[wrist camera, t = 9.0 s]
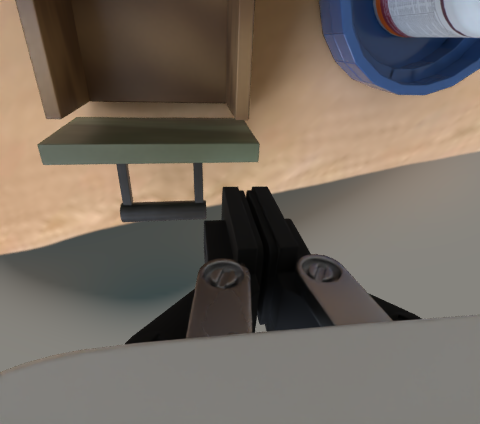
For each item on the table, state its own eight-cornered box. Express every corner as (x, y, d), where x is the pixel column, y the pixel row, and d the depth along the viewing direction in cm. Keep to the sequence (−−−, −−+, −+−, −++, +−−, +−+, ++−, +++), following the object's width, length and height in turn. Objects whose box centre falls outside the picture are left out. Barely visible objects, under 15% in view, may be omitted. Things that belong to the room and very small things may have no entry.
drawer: (239, 192, 28) (253, 233, 22) (93, 196, 26) (65, 242, 20) (252, -115, 18) (283, -189, 12) (20, -142, 16) (-75, -245, 10)
